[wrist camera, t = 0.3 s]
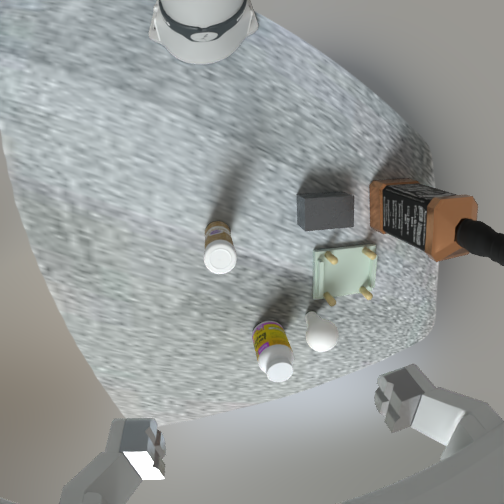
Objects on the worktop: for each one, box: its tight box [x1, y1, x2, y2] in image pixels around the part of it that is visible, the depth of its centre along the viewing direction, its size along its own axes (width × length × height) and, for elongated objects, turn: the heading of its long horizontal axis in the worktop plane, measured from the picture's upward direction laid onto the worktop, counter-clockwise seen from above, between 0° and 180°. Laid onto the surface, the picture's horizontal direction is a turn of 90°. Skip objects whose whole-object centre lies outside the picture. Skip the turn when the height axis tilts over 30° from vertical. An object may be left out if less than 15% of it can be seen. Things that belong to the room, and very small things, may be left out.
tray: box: [313, 244, 377, 306], centre depth 59 cm, size 10×13×5 cm
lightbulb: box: [305, 311, 339, 352], centre depth 58 cm, size 6×6×11 cm
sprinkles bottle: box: [204, 221, 237, 274], centre depth 49 cm, size 5×5×13 cm
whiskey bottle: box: [369, 178, 504, 266], centre depth 43 cm, size 10×10×32 cm
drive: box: [297, 192, 354, 231], centre depth 54 cm, size 6×9×5 cm, turn 94°
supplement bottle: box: [252, 321, 294, 382], centre depth 57 cm, size 7×7×13 cm
